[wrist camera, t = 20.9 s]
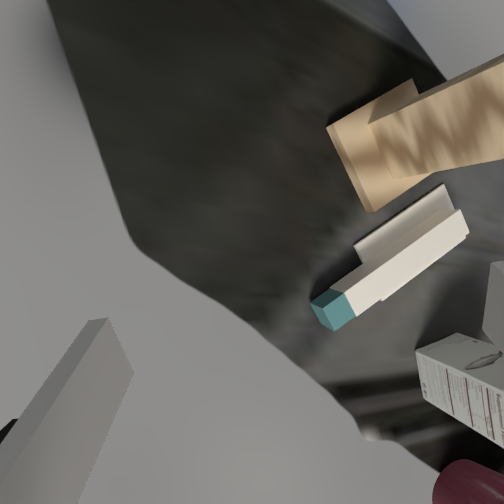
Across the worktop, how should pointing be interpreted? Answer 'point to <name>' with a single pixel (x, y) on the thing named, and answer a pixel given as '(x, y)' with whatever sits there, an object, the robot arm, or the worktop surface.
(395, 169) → the stand
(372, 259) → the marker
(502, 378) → the supplement box
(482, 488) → the plant pot
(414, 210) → the notepad
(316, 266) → the worktop surface
